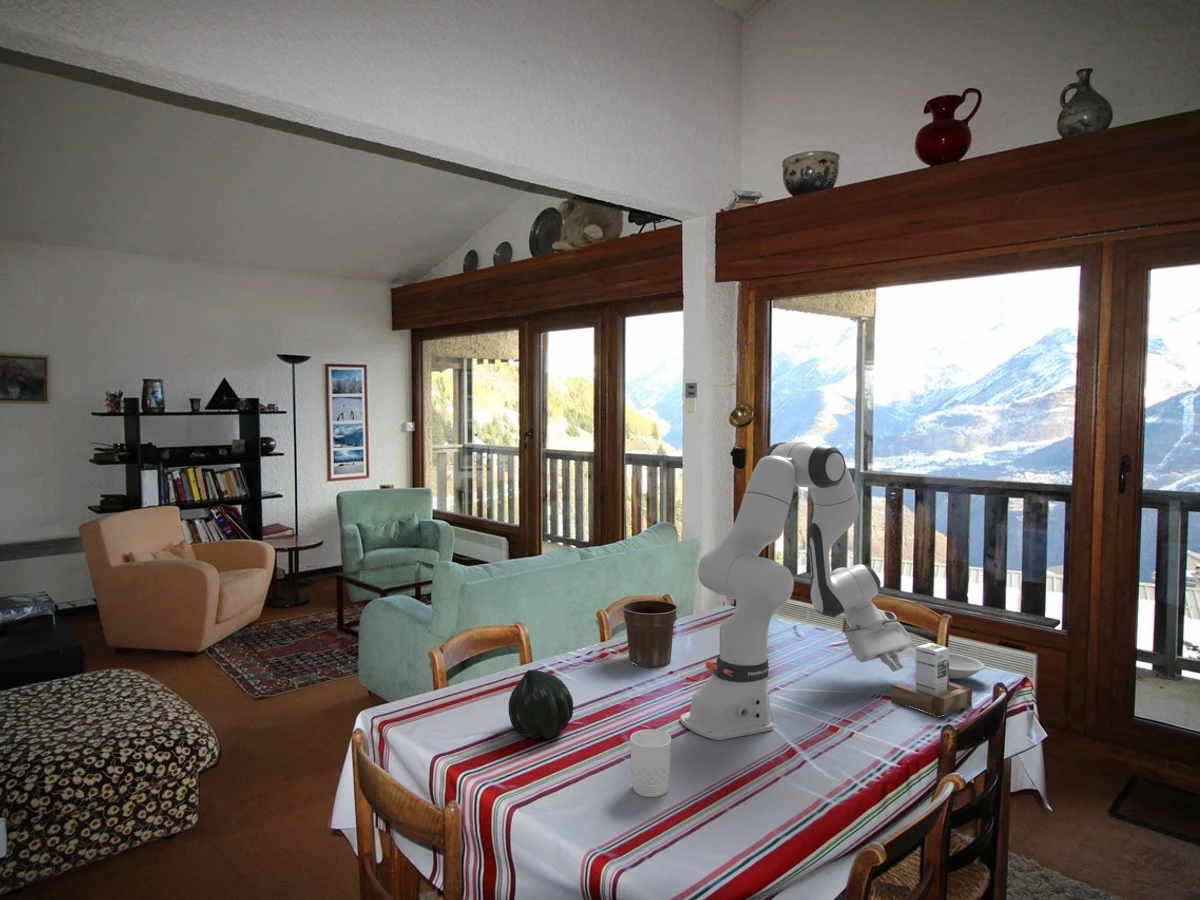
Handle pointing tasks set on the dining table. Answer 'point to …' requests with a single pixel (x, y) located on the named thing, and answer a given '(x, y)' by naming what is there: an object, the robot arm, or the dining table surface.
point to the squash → (540, 705)
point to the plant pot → (650, 631)
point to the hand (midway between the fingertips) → (898, 669)
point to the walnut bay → (933, 699)
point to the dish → (963, 666)
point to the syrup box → (932, 669)
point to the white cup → (650, 762)
